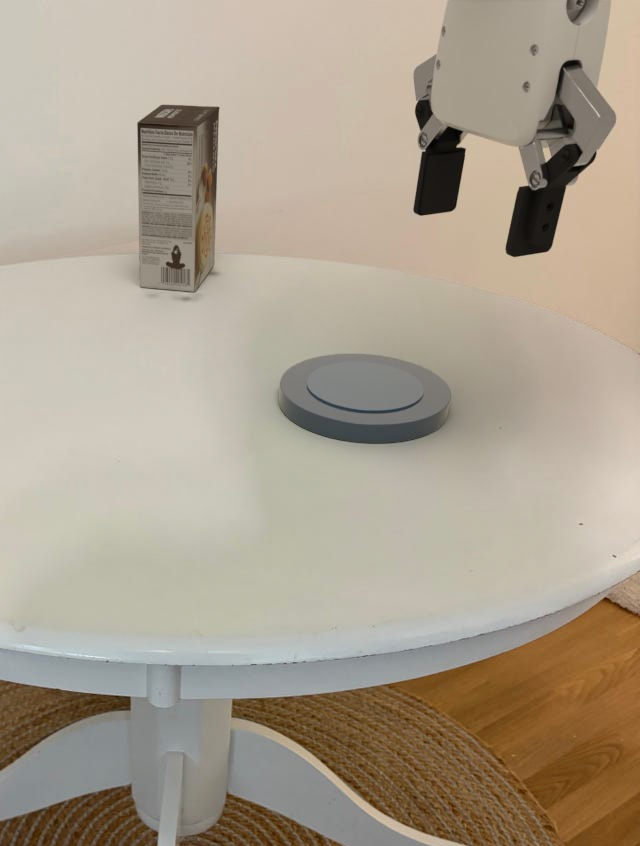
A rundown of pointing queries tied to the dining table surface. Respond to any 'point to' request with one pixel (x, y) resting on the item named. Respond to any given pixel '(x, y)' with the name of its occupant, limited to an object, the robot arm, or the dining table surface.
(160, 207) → the coffee box
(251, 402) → the dining table surface
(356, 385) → the plate
